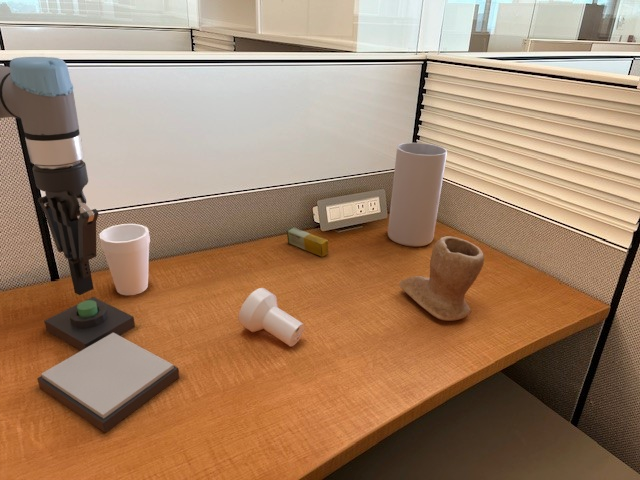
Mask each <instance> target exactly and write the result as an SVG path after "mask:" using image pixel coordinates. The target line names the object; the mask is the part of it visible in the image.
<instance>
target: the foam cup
mask: <svg viewBox="0 0 640 480" xmlns="http://www.w3.org/2000/svg"><path fill="white" fill-rule="evenodd" d="M99 240H100V248H101V250H103V253H104V257H105V259H106V262H107V263H106V264H107V266H108V269H109V272H110V275H111V278H112V281H113V285H114V287H115V290H116V292H117V293H118V294H120V295H122V296H135V295H138V294H141V293H143V292H144V291H147V288H148V287H149V266H150V265H149V264H150V263H149V262H150V243H151V237H150V230H149V228H148V227H147V226H146V225H143V224H138V223H121V224H116V225H112V226H109V227H107V228H104V229H103V230H102V231H100V233H99Z"/></svg>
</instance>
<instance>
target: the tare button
mask: <svg viewBox="0 0 640 480" xmlns="http://www.w3.org/2000/svg"><path fill="white" fill-rule="evenodd" d="M86 300H87V299H86ZM77 304H78V305H77ZM77 304H76V305H77V309H78V314H79V316H80V317H90V316H93V315H95V314H97V312H98V309H97V304H96V302H95V301H92V300H87V301H85V300H84V301H81V302H79V303H77Z"/></svg>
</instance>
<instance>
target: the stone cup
mask: <svg viewBox="0 0 640 480" xmlns="http://www.w3.org/2000/svg"><path fill="white" fill-rule="evenodd" d="M484 263H485V255H484V252H483V251H482V249H481V248H480V247H479V246H477V245H476V244H474V243H472V242H470V241H468V240H465V239H463V238H459V237H456V236H450V235H446V236H442V237H440V238H439V239H438V240H437V241H436V242H435V243H434V245H433V247H432V251H431V255H430V260H429V277H427V276H423V275H413V276H408V277H406V278H403V279H402V280H400V281H399V283H398V286H399V288H401V289H402V290H403V291H404V292H405V293H406V294H407V296H409V297H410V298H411V299H412V300H413V301H414V302H415V303H416V304H417V305H419V306H420V307H421V308H423V309H424V310H425V311H426V312H428V313H429V314H430V315H432V316H433V317H434V318H435V319H438V320H441V321H446V322H451V321H459V320H462V319H465V318H467V317H468V316H469V315H470V314H471V313H472V309H471V307H470V306H469V304H468V303H467V302H466V300H465V296H466V294H467V292H468V291H469V289H470V288H471V287H472V286H473V284H474V283H475V281H476V280H477V278H478V277H479V275H480V273H481V271H482V269H483V266H484Z"/></svg>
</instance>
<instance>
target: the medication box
mask: <svg viewBox="0 0 640 480" xmlns="http://www.w3.org/2000/svg"><path fill="white" fill-rule="evenodd" d="M286 235H287V237H286V238H287V244H289V245H292V246H294V247H297V248H299V249H302V250H304V251H307V252H309V253H312V254H314V255H317V256H319V257H321V258H323V257H325V256H326V255H327V254H329V246H328V244H329V241H328V239H325V238H324V237H321V236H318V235H316V234H313V233H309V232H308V231H305V230H302V229H300V228H296V227H295V226H293V227H291V228H289V229H287V230H286Z"/></svg>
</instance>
